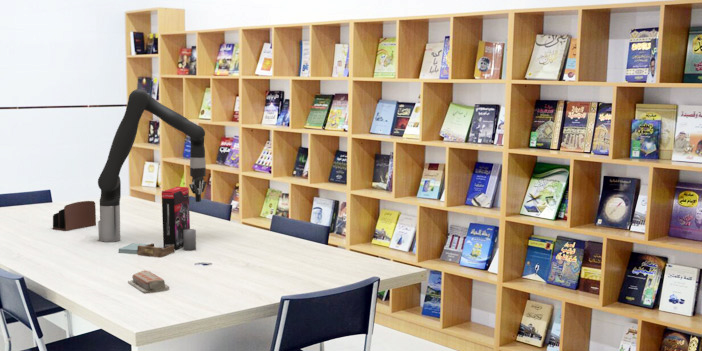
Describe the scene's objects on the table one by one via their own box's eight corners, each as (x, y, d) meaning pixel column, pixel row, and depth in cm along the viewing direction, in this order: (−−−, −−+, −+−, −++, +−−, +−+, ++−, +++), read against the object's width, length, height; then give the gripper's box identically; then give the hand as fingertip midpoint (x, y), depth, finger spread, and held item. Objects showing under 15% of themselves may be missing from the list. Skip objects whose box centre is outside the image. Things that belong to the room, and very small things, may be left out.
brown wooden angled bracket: (137, 254, 338) (137, 246, 338) (152, 249, 349) (151, 241, 348) (160, 257, 334) (160, 248, 334) (174, 252, 345) (174, 243, 344)
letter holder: (96, 225, 405) (95, 199, 403) (65, 231, 388) (65, 204, 386) (83, 223, 410) (82, 197, 408) (52, 229, 393) (51, 202, 391)
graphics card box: (175, 250, 348) (175, 191, 345) (161, 249, 349) (160, 190, 346) (190, 243, 365) (190, 186, 361) (177, 242, 366) (176, 186, 363)
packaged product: (170, 278, 282) (143, 282, 277) (170, 291, 283) (144, 295, 277) (152, 268, 297) (127, 271, 291) (152, 280, 297) (127, 283, 292)
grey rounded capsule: (181, 250, 349) (180, 230, 348) (187, 247, 355) (187, 228, 354) (191, 251, 348) (191, 231, 347) (198, 248, 353) (198, 229, 352)
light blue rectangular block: (118, 254, 342) (118, 248, 341) (132, 248, 354) (132, 243, 354) (137, 255, 340) (136, 250, 339) (150, 249, 352) (150, 244, 352)
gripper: (198, 164, 379) (198, 199, 381) (183, 167, 366) (184, 203, 369) (211, 165, 376) (211, 200, 378) (197, 168, 364) (197, 204, 366)
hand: (198, 201), depth 373 cm, fingers closed
